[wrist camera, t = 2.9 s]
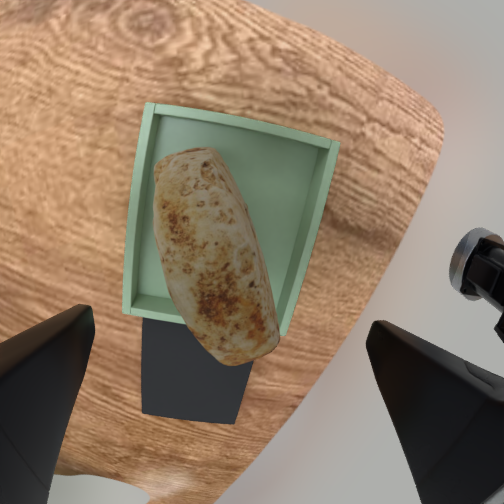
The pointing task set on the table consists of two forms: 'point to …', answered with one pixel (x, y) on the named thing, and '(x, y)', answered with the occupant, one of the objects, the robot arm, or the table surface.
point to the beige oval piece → (213, 257)
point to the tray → (251, 188)
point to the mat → (187, 376)
